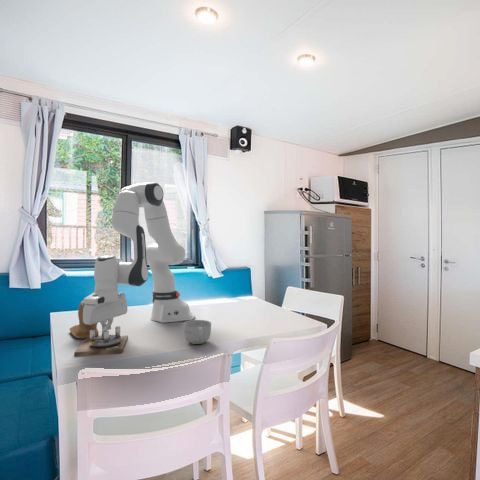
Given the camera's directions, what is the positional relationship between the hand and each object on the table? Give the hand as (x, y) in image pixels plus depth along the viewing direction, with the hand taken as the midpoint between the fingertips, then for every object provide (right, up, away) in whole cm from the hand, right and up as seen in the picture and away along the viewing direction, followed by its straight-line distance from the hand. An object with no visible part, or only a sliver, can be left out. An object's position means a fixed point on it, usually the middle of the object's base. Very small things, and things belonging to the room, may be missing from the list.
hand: (106, 330), depth 132 cm
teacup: (+37, -5, -2) cm, 37 cm away
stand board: (+1, -5, -6) cm, 8 cm away
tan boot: (-12, -5, +10) cm, 17 cm away
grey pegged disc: (+2, -3, -7) cm, 8 cm away
